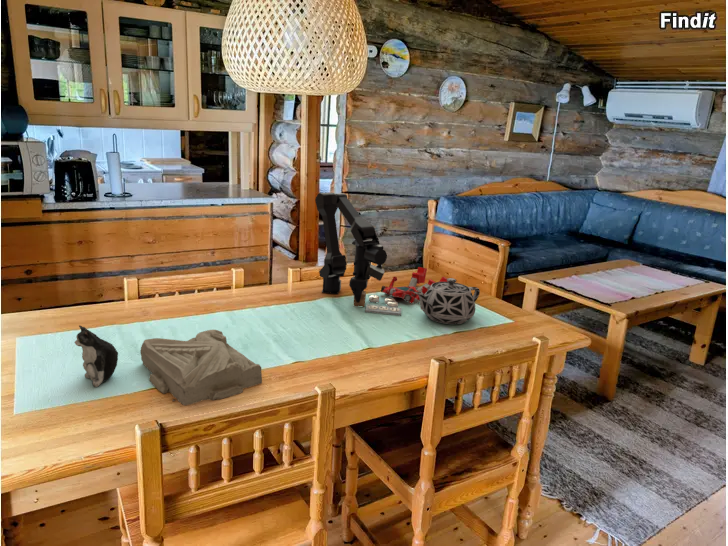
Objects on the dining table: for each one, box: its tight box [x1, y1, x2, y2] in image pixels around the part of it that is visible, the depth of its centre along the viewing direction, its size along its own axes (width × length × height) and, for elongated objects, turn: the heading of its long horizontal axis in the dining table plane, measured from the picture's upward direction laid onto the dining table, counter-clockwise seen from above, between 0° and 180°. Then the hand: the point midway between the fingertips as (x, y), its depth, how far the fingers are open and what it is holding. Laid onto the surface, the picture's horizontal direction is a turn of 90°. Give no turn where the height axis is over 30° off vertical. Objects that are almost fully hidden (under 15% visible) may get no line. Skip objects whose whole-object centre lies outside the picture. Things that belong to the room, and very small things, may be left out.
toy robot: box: [380, 266, 448, 304], centre depth 225 cm, size 18×10×30 cm
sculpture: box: [139, 329, 263, 406], centre depth 148 cm, size 25×31×9 cm
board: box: [364, 303, 403, 317], centre depth 206 cm, size 13×6×1 cm, turn 83°
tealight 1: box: [368, 294, 380, 304], centre depth 215 cm, size 4×4×3 cm
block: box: [352, 290, 367, 308], centre depth 210 cm, size 4×4×5 cm
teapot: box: [414, 277, 481, 325], centre depth 200 cm, size 19×31×15 cm, turn 123°
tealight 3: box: [386, 300, 399, 307], centre depth 210 cm, size 4×4×3 cm
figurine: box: [74, 324, 119, 388], centre depth 141 cm, size 10×10×15 cm
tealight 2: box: [384, 296, 396, 305], centre depth 214 cm, size 4×4×3 cm
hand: (359, 298), depth 210 cm, fingers open, 9 cm apart
